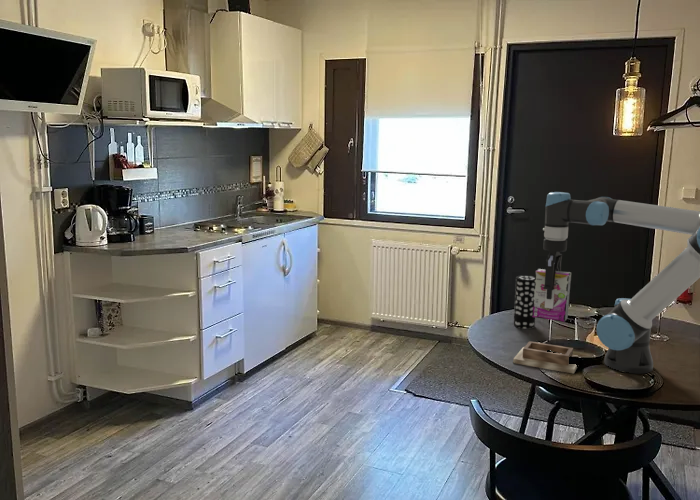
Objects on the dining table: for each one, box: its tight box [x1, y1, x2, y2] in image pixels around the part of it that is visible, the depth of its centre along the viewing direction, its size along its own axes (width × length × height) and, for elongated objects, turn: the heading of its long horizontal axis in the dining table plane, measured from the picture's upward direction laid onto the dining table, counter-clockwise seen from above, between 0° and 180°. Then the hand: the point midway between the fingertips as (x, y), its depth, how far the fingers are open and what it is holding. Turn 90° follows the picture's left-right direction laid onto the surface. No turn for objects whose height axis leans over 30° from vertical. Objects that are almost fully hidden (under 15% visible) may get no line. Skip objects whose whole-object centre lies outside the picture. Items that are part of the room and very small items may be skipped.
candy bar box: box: [532, 268, 572, 323], centre depth 218 cm, size 11×5×16 cm, turn 62°
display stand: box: [512, 340, 578, 375], centre depth 222 cm, size 20×14×5 cm
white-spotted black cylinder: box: [513, 275, 536, 330], centre depth 261 cm, size 8×8×20 cm
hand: (550, 305), depth 219 cm, fingers closed on candy bar box, 5 cm apart
